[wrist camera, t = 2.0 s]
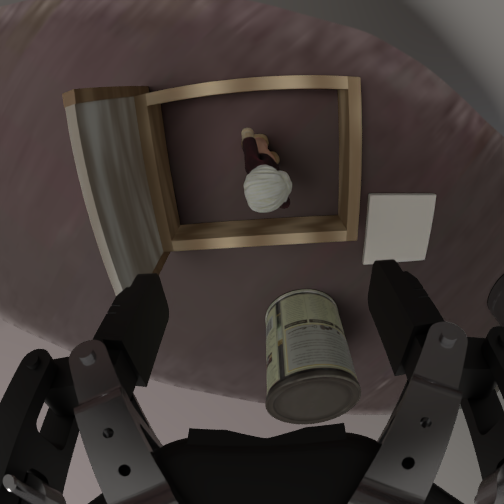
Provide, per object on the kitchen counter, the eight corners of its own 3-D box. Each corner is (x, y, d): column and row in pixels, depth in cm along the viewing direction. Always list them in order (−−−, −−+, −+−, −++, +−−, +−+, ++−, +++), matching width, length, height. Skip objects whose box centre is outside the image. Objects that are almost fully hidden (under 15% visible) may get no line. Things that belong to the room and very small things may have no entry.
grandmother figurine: (224, 141, 29) (201, 172, 18) (253, 117, 28) (248, 132, 17) (272, 194, 32) (277, 254, 21) (300, 173, 31) (323, 223, 20)
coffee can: (341, 334, 42) (360, 414, 30) (273, 347, 44) (276, 429, 32) (335, 280, 37) (362, 366, 25) (257, 296, 39) (254, 386, 27)
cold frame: (347, 69, 25) (410, 57, 13) (347, 231, 34) (387, 310, 22) (139, 88, 26) (62, 93, 14) (167, 242, 35) (126, 322, 23)
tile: (434, 193, 31) (436, 195, 30) (422, 257, 35) (424, 259, 35) (368, 193, 32) (369, 195, 31) (361, 262, 36) (363, 264, 35)
